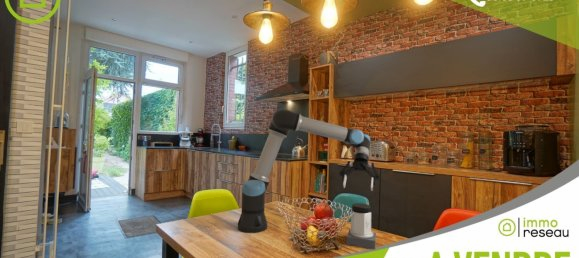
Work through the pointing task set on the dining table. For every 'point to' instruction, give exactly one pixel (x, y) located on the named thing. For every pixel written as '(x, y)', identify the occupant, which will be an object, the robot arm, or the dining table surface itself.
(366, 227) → the jar
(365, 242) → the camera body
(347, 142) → the robot arm
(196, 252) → the dining table surface
